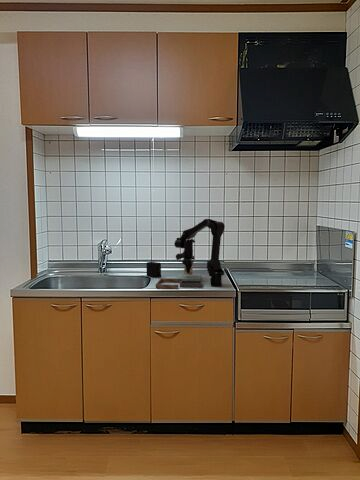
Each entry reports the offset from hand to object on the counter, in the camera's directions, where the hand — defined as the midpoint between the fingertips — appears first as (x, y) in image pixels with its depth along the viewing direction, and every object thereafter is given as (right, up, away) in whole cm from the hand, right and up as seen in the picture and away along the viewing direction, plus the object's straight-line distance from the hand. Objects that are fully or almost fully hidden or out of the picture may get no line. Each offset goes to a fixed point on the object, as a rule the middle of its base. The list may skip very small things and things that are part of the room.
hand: (188, 272), depth 267 cm
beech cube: (0, -1, 0) cm, 1 cm away
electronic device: (-24, -4, +12) cm, 27 cm away
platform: (0, -5, +1) cm, 5 cm away
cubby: (-12, -7, -15) cm, 20 cm away
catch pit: (+1, -7, -17) cm, 18 cm away
